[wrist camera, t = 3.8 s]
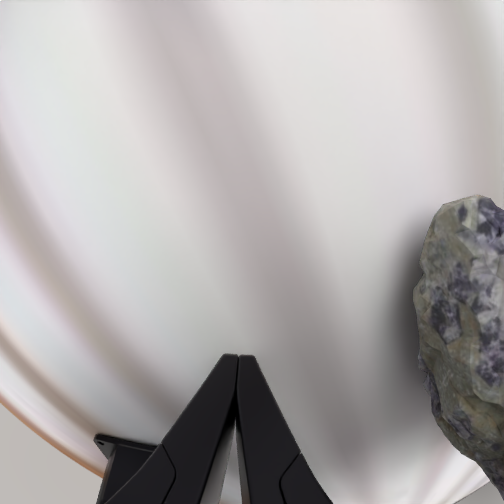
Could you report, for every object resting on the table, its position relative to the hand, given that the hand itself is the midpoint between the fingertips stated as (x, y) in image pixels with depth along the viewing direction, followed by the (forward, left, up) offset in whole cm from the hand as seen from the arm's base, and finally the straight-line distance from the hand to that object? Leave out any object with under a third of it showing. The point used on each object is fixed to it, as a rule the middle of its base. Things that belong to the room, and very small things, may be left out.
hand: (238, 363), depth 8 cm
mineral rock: (0, -11, -2) cm, 11 cm away
